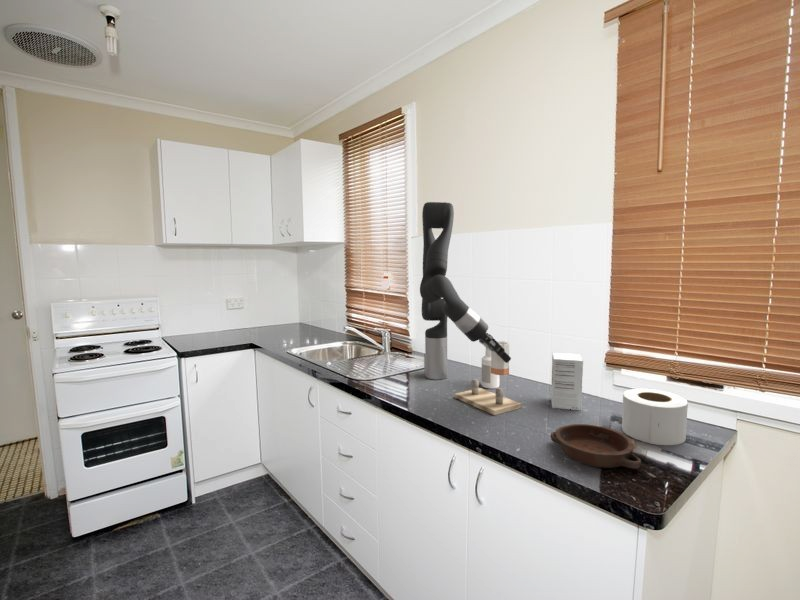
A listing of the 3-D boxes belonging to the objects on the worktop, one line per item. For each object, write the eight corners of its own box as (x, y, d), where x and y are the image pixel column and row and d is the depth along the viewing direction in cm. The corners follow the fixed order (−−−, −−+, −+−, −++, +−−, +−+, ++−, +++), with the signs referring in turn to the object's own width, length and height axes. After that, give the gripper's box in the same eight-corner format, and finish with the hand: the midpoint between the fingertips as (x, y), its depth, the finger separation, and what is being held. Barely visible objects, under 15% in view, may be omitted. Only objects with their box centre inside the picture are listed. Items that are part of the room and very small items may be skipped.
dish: (565, 432, 119) (565, 416, 119) (652, 458, 103) (653, 439, 103) (535, 453, 107) (536, 434, 106) (628, 486, 91) (629, 464, 91)
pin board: (454, 397, 149) (454, 380, 149) (480, 391, 155) (480, 374, 155) (494, 415, 132) (494, 395, 132) (521, 407, 138) (521, 389, 138)
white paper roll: (671, 451, 107) (673, 410, 106) (611, 431, 119) (613, 395, 118) (694, 435, 116) (697, 398, 115) (636, 418, 128) (638, 384, 127)
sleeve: (487, 372, 138) (487, 342, 137) (499, 369, 141) (500, 340, 140) (499, 376, 133) (500, 345, 132) (512, 373, 136) (513, 343, 135)
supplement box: (550, 398, 147) (551, 352, 145) (578, 401, 144) (580, 353, 142) (551, 408, 138) (553, 358, 136) (581, 411, 135) (583, 360, 133)
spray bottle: (484, 382, 167) (485, 338, 165) (501, 385, 163) (502, 340, 161) (478, 387, 161) (479, 341, 159) (496, 389, 157) (496, 343, 156)
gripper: (485, 318, 128) (521, 355, 130) (471, 312, 142) (504, 345, 144) (468, 336, 127) (505, 372, 130) (456, 328, 142) (489, 361, 144)
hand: (504, 358), depth 137 cm, fingers closed on sleeve, 6 cm apart
